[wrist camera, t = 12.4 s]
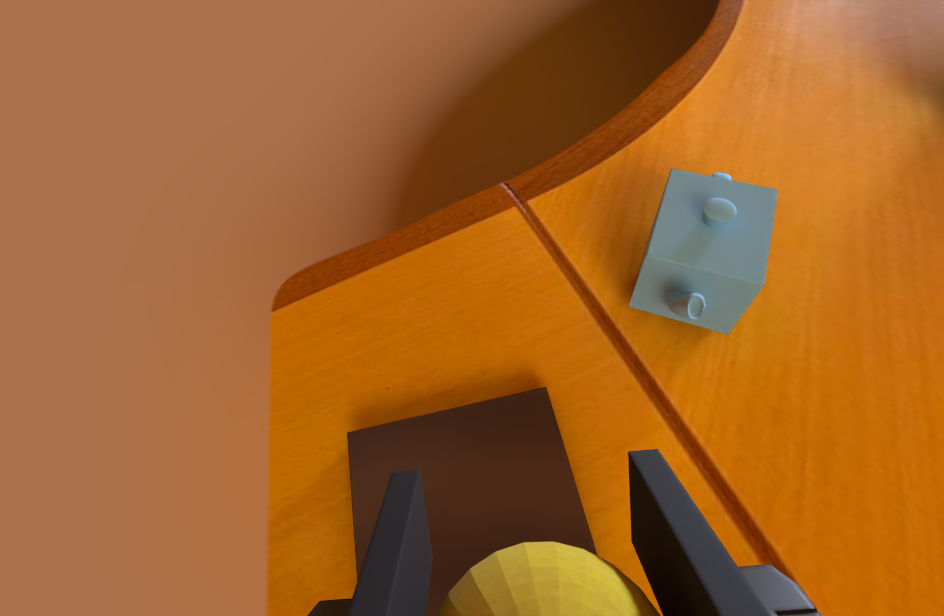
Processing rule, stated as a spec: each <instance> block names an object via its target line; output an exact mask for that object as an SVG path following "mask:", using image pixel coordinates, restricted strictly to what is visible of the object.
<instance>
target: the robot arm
mask: <svg viewBox="0 0 944 616" xmlns="http://www.w3.org/2000/svg"><path fill="white" fill-rule="evenodd" d="M628 456H629V483H630V509H631V536H632V543H633V546H634V548H635V550H636V553H637V555H638V557H639V560H640V562H641V565H642V567H643V569H644V572H645V574H646V576H647V579H648V581H649V583H650V586H651V588H652V590H653V593H654V595H655V597H656V600H657V602H658V604H659V607H660V609H661V611H662V614H663V616H822V615H821V614H820V613H818V612H817V610H816V607H815V606H814V605H813V604H812V602H811V601H810V600H809V599H808V597H807V596H806V595H805V594H804V592H803V591H802V590H801V589H800V587H799V586H798V585H797V584H796V583H795V582H793V581H792V580H791V579H789V578H788V577H786V576H785V575H784V574H782V573H781V572H780V571H778V570H777V569H775V568H774V567H773V566H771V565H757V566H744V567H737V565H736V564H735V562H734V561H733V559H732V558H731V556H730V555H729V553H728V552H727V550H726V549H725V548H724V546H723V545H722V543H721V542H720V540H719V539H718V537H717V536H716V534H715V533H714V531H713V530H712V528H711V527H710V525H709V524H708V522H707V521H706V519H705V518H704V517H703V515H702V514H701V512H700V511H699V509H698V508H697V506H696V505H695V503H694V502H693V500H692V499H691V497H690V496H689V494H688V493H687V491H686V490H685V489H684V487H683V486H682V484H681V483H680V481H679V480H678V478H677V477H676V475H675V474H674V472H673V471H672V469H671V468H670V466H669V465H668V463H667V462H666V460H665V459H664V458H663V456H662V455H661V453H660V452H659V450H658V449H653V450H642V451H630V452H628ZM432 561H433V554H432V547H431V541H430V534H429V527H428V520H427V514H426V507H425V500H424V494H423V487H422V480H421V473H420V470H414V471H402V472H392V473H391V476H390V479H389V483H388V486H387V489H386V492H385V495H384V499H383V502H382V505H381V508H380V511H379V515H378V518H377V521H376V524H375V527H374V531H373V534H372V537H371V540H370V543H369V547H368V550H367V553H366V556H365V559H364V563H363V566H362V569H361V572H360V575H359V579H358V582H357V585H356V588H355V591H354V594H353V598H352V599H339V600H326V601H319V602H318V604H317V605H316V606H315V607H314V608H313V610H312V611H311V612H310V613H309V614H308V615H307V616H426V608H427V600H428V592H429V585H430V577H431V569H432Z"/></svg>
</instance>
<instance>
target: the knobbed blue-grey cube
mask: <svg viewBox="0 0 944 616" xmlns="http://www.w3.org/2000/svg"><path fill="white" fill-rule="evenodd" d="M777 192H778V190H777V189H772V188H767V187H762V186H757V185H752V184H747V183H742V182H737V181H733V180H731V176H730V175H728V174H726V173H721V172H718V173H714V174H713V175H712V176H708V175H702V174H697V173H692V172H686V171H681V170H677V169H671V172H670V175H669V178H668V181H667V184H666V187H665V190H664V193H663V196H662V199H661V202H660V205H659V208H658V211H657V214H656V217H655V220H654V223H653V226H652V229H651V233H650V236H649V239H648V243H647V246H646V250H645V253H644V256H643V260H642V263H641V266H640V270H639V273H638V277H637V280H636V283H635V287H634V290H633V294H632V297H631V300H630V304H629V307H632V308H635V309H639V310H642V311H646V312H649V313H653V314H657V315H660V316H664V317H667V318H671V319H674V320H678V321H682V322H685V323H689V324H692V325H696V326H699V327H703V328H707V329H710V330H714V331H717V332H721V333H724V334H729V332H730V331H731V330H732V328H733V327H734V326H735V324H736V323H737V321H738V320H739V319H740V317H741V316H742V315H743V313H744V312H745V311H746V309H747V308H748V307H749V305H750V304H751V303H752V301H753V300H754V298H755V297H756V296H757V294H758V293H759V292H760V290H761V289H762V288H763V286H764V281H765V275H766V268H767V261H768V254H769V248H770V241H771V235H772V228H773V220H774V213H775V206H776V199H777Z"/></svg>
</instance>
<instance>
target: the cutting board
mask: <svg viewBox="0 0 944 616" xmlns="http://www.w3.org/2000/svg"><path fill="white" fill-rule="evenodd" d="M347 437H348V452H349V466H350V481H351V495H352V510H353V524H354V539H355V553H356V568H357V582H358V579H359V575H360V572H361V569H362V566H363V563H364V559H365V556H366V553H367V550H368V547H369V543H370V540H371V537H372V534H373V531H374V527H375V524H376V521H377V518H378V515H379V511H380V508H381V505H382V502H383V499H384V495H385V492H386V489H387V486H388V483H389V479H390V476H391V473H392V472H402V471H414V470H420V473H421V480H422V487H423V494H424V500H425V507H426V514H427V520H428V527H429V534H430V541H431V547H432V554H433V561H432V569H431V577H430V585H429V592H428V600H427V608H426V616H436V615H437V614H438V612H439V610H440V608H441V606H442V604H443V602H444V600H445V599H446V597H447V595H448V593H449V592H450V590H451V589H452V588H453V587H454V586H455V585H456V584H457V583H458V582H459V580H460V579H461V578H462V577H463V576H464V575H465V574H466V573H467V572H468V570H469V569H470V568H472V567H473V566H475V565H476V564H478V563H479V562H481V561H482V560H484V559H485V558H487V557H488V556H490V555H491V554H493V553H494V552H496V551H499V550H502V549H505V548H508V547H511V546H514V545H517V544H520V543H523V542H552V541H553V542H557V543H561V544H565V545H570V546H574V547H578V548H582V549H585V550H587V551H588V552H590V553H592V554H594V555H596V556H597V553H596V549H595V546H594V543H593V539H592V536H591V533H590V530H589V526H588V523H587V520H586V516H585V513H584V510H583V507H582V503H581V500H580V497H579V493H578V490H577V487H576V484H575V480H574V477H573V474H572V470H571V467H570V464H569V461H568V457H567V454H566V451H565V447H564V444H563V441H562V438H561V434H560V431H559V428H558V425H557V421H556V418H555V415H554V411H553V408H552V405H551V402H550V398H549V395H548V392H547V388H546V387H544V388H539V389H535V390H530V391H526V392H522V393H517V394H513V395H509V396H504V397H500V398H496V399H491V400H487V401H483V402H478V403H474V404H469V405H465V406H461V407H456V408H452V409H448V410H443V411H439V412H435V413H430V414H426V415H421V416H417V417H413V418H408V419H404V420H400V421H395V422H391V423H387V424H382V425H378V426H373V427H369V428H365V429H360V430H356V431H352V432H348V433H347Z"/></svg>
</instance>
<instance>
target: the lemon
mask: <svg viewBox="0 0 944 616" xmlns="http://www.w3.org/2000/svg"><path fill="white" fill-rule="evenodd" d="M436 616H660V614H659V613H658V612H657V610H656V609H655V608H654V606H653V605H652V604H651V602H650V601H649V600H648V598H647V597H646V596H645V594H644V593H643V591H642V590H641V589H640V588H639V587H638V586H637V585H636V584H635V583H634V582H633V581H631V580H630V579H629V578H628V577H627V576H626V575H625V574H623V573H622V572H621V571H620V570H619V569H618V568H617V567H615V566H614V565H613V564H611V563H609V562H608V561H606V560H604V559H602V558H600V557H598V556H596V555H594V554H592V553H590V552H588V551H587V550H585V549H582V548H578V547H574V546H570V545H565V544H561V543H557V542H553V541H552V542H523V543H520V544H517V545H514V546H511V547H508V548H505V549H502V550H499V551H496V552H494V553H493V554H491V555H490V556H488V557H487V558H485V559H484V560H482V561H481V562H479V563H478V564H476V565H475V566H473V567H472V568H470V569H469V570H468V572H467V573H466V574H465V575H464V576H463V577H462V578H461V579H460V580H459V582H458V583H457V584H456V585H455V586H454V587H453V588H452V589H451V590H450V592H449V593H448V595H447V597H446V599H445V600H444V602H443V604H442V606H441V608H440V610H439V612H438V614H437V615H436Z"/></svg>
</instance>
